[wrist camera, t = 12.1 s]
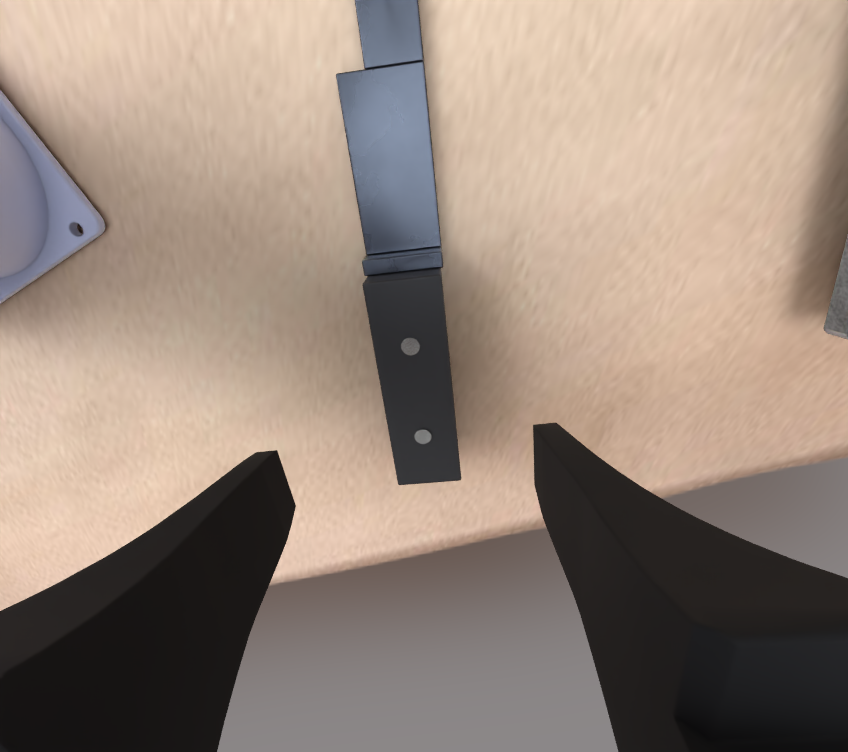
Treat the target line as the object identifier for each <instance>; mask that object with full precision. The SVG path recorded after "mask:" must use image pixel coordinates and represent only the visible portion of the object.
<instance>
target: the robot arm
mask: <svg viewBox="0 0 848 752" xmlns="http://www.w3.org/2000/svg"><path fill="white" fill-rule="evenodd" d="M77 224H79V225H80V226H81V227H82V229H83V235H82V234H81V233H80V232H79V230H78V229H77ZM104 230H105V223H104V220H103V218H102V217H101V215H100V214H99V213H98V212H97V210H96V209H95V208H94V207H93V205H92V204H91V203H90V202H89V200H88V199H87V198H86V197H85V195H84V194H83V193H82V191H81V190H80V189H79V188H78V186H77V185H76V184H75V183H74V181H73V180H72V179H71V178H70V176H69V175H68V174H67V173H66V171H65V170H64V169H63V168H62V166H61V165H60V164H59V163H58V161H57V160H56V159H55V158H54V156H53V155H52V154H51V153H50V151H49V150H48V149H47V148H46V146H45V145H44V144H43V143H42V141H41V140H40V139H39V138H38V136H37V135H36V134H35V132H34V131H33V130H32V129H31V127H30V126H29V125H28V124H27V122H26V121H25V120H24V119H23V117H22V116H21V115H20V114H19V112H18V111H17V110H16V109H15V107H14V106H13V105H12V104H11V102H10V101H9V100H8V99H7V97H6V96H5V95H4V94H3V92H2V91H1V90H0V304H1V303H2V302H4V301H5V300H7V299H8V298H9V297H11V296H12V295H14V294H15V293H17V292H18V291H20V290H21V289H23V288H24V287H25V286H27V285H28V284H30V283H31V282H33V281H34V280H36V279H37V278H39V277H40V276H42V275H43V274H44V273H46V272H47V271H49V270H50V269H52V268H53V267H55V266H56V265H58V264H59V263H60V262H62V261H63V260H65V259H66V258H68V257H69V256H71V255H72V254H74V253H75V252H76V251H78V250H79V249H81V248H82V247H84V246H85V245H87V244H88V243H90V242H91V241H92V240H94V239H95V238H97V237H98V236H100V235H101V234H102V233H103V232H104ZM533 437H534V481H535V488H536V492H537V496H538V500H539V504H540V508H541V512H542V515H543V519H544V521H545V524H546V527H547V529H548V532H549V534H550V537H551V539H552V542H553V545H554V547H555V550H556V552H557V555H558V557H559V560H560V562H561V565H562V567H563V570H564V572H565V575H566V577H567V580H568V582H569V585H570V587H571V590H572V592H573V595H574V598H575V600H576V603H577V606H578V609H579V612H580V615H581V618H582V622H583V625H584V629H585V632H586V635H587V639H588V642H589V646H590V649H591V652H592V656H593V660H594V663H595V667H596V670H597V674H598V677H599V681H600V685H601V688H602V692H603V695H604V699H605V703H606V706H607V710H608V714H609V718H610V721H611V725H612V729H613V733H614V736H615V740H616V744H617V747H618V752H848V578H845V577H843V576H840V575H837V574H834V573H830V572H828V571H825V570H822V569H819V568H816V567H813V566H810V565H807V564H804V563H802V562H799V561H796V560H793V559H791V558H788V557H786V556H783V555H780V554H778V553H776V552H773V551H770V550H768V549H766V548H763V547H761V546H758V545H756V544H753V543H751V542H749V541H746V540H744V539H742V538H739V537H737V536H735V535H732V534H730V533H728V532H725V531H724V530H722V529H719V528H717V527H715V526H713V525H711V524H709V523H707V522H705V521H703V520H700V519H698V518H696V517H694V516H692V515H690V514H688V513H686V512H685V511H683V510H681V509H679V508H677V507H675V506H674V505H672V504H670V503H668V502H666V501H665V500H663V499H661V498H659V497H658V496H656V495H654V494H652V493H651V492H649V491H648V490H646V489H644V488H643V487H641V486H639V485H638V484H636V483H635V482H633V481H632V480H630V479H629V478H627V477H626V476H624V475H623V474H621V473H620V472H619V471H617V470H616V469H614V468H613V467H611V466H610V465H609V464H607V463H606V462H605V461H603V460H602V459H601V458H599V457H598V456H597V455H595V454H594V453H593V452H591V451H590V450H589V449H588V448H586V447H585V446H584V445H583V444H582V443H580V442H579V441H578V440H577V439H575V438H574V437H573V436H572V435H571V434H569V433H568V432H567V431H566V430H564V429H563V428H562V427H561V426H560V425H558V424H557V423H548V424H538V425H533ZM295 507H296V505H295V502H294V499H293V496H292V493H291V490H290V488H289V485H288V482H287V479H286V476H285V473H284V470H283V467H282V464H281V461H280V458H279V455H278V452H277V450H275V451H265V452H256V453H255V454H253V455H251V456H250V457H248V458H247V459H246V460H244V461H243V462H241V463H240V464H239V465H237V466H236V467H235V468H233V469H232V470H231V471H229V472H228V473H227V474H225V475H224V476H223V477H221V478H220V479H219V480H218V481H216V482H215V483H214V484H212V485H211V486H210V487H208V488H207V489H206V490H204V491H203V492H202V493H200V494H199V495H198V496H197V497H195V498H194V499H193V500H191V501H190V502H188V503H187V504H186V505H184V506H183V507H181V508H180V509H179V510H177V511H176V512H174V513H173V514H171V515H170V516H169V517H167V518H166V519H164V520H163V521H162V522H160V523H159V524H157V525H156V526H154V527H153V528H151V529H150V530H148V531H147V532H145V533H144V534H142V535H141V536H139V537H138V538H136V539H134V540H133V541H131V542H130V543H128V544H126V545H125V546H123V547H121V548H120V549H118V550H117V551H115V552H113V553H112V554H110V555H108V556H106V557H105V558H103V559H101V560H99V561H98V562H96V563H94V564H92V565H90V566H88V567H87V568H85V569H83V570H81V571H79V572H77V573H76V574H74V575H72V576H70V577H68V578H66V579H65V580H63V581H61V582H59V583H57V584H55V585H53V586H51V587H49V588H47V589H45V590H43V591H41V592H39V593H37V594H35V595H33V596H31V597H29V598H27V599H25V600H23V601H21V602H19V603H17V604H14V605H12V606H10V607H8V608H6V609H4V610H2V611H0V752H217V749H218V745H219V741H220V737H221V733H222V728H223V725H224V720H225V717H226V713H227V710H228V706H229V702H230V698H231V695H232V691H233V688H234V684H235V680H236V677H237V673H238V670H239V667H240V664H241V660H242V657H243V653H244V650H245V647H246V644H247V640H248V637H249V634H250V631H251V628H252V626H253V623H254V620H255V617H256V615H257V613H258V610H259V608H260V605H261V603H262V601H263V598H264V596H265V593H266V591H267V588H268V586H269V584H270V581H271V579H272V576H273V574H274V571H275V569H276V567H277V564H278V562H279V559H280V557H281V554H282V552H283V549H284V547H285V544H286V541H287V539H288V535H289V531H290V528H291V524H292V520H293V515H294V511H295Z"/></svg>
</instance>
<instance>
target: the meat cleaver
mask: <svg viewBox="0 0 848 752" xmlns="http://www.w3.org/2000/svg"><path fill="white" fill-rule="evenodd" d="M824 330H825V331H826V333H828V334H831V335H835V336H838V337H842V338H845V339H848V236H847V240H846V243H845V247H844V251H843V255H842V259H841V263H840V267H839V271H838V274H837V278H836V282H835V286H834V290H833V294H832V298H831V302H830V305H829V309H828V313H827V317H826V321H825V325H824Z"/></svg>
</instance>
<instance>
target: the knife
mask: <svg viewBox="0 0 848 752" xmlns="http://www.w3.org/2000/svg"><path fill="white" fill-rule="evenodd" d="M355 5H356V12H357V19H358V26H359V33H360V40H361V47H362V53H363V60H364V67H365V70H358V71H352V72H345V73H338V74H336V78H337V84H338V90H339V96H340V102H341V108H342V114H343V119H344V125H345V131H346V137H347V143H348V149H349V155H350V161H351V167H352V173H353V178H354V184H355V190H356V196H357V202H358V208H359V214H360V220H361V226H362V232H363V237H364V243H365V249H366V254H367V256H366V257H365V258H364V259H363V261H362V264H363V270H364V275H365V276H368V277H367V279H366V280H365V281H364V283H363V290H364V295H365V301H366V307H367V312H368V318H369V323H370V329H371V335H372V340H373V346H374V351H375V357H376V363H377V368H378V374H379V379H380V385H381V391H382V396H383V402H384V407H385V413H386V419H387V424H388V430H389V435H390V441H391V447H392V452H393V458H394V463H395V469H396V475H397V480H398V484H399V485H406V484H419V483H432V482H445V481H458V480H461V471H460V460H459V449H458V439H457V429H456V418H455V408H454V398H453V387H452V377H451V367H450V356H449V346H448V336H447V326H446V315H445V305H444V295H443V284H442V274H441V268H442V267H443V258H442V248H441V237H440V227H439V216H438V206H437V195H436V185H435V174H434V163H433V153H432V142H431V132H430V121H429V111H428V100H427V89H426V79H425V68H424V58H423V47H422V37H421V26H420V15H419V5H418V0H355Z"/></svg>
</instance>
